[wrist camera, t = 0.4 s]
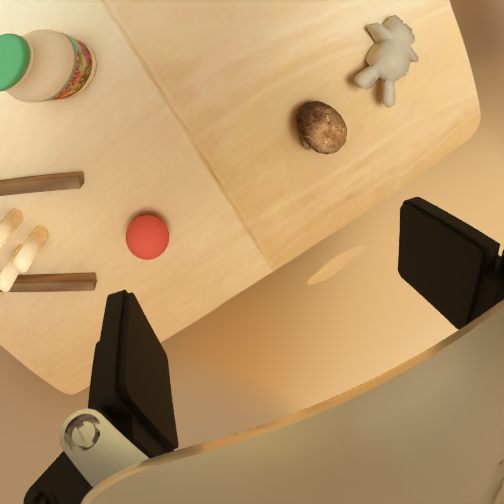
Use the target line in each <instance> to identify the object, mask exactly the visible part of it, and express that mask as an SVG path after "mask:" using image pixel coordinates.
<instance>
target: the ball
mask: <svg viewBox="0 0 504 504" xmlns="http://www.w3.org/2000/svg"><path fill="white" fill-rule="evenodd" d="M168 242H169V232H168V229H167V227H166V225H165V224H164V222H163V221H162V220H160V219H159V218H157V217H155V216H152V215H144V216H140V217H138V218H136V219H135V220H133V221H132V223H131V224H130V225H129V227H128V229H127V232H126V243H127V246H128V248H129V250H130V251H131V252H132V253H133V254H134V255H135V256H136V257H138V258H141V259H146V260H149V259H154V258H156V257H158V256H160V255H161V254H162V253H163V252H164V251H165V249H166V248H167V245H168Z"/></svg>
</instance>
